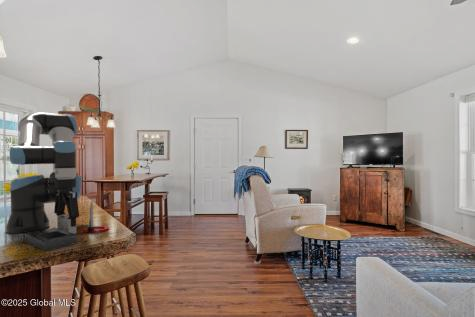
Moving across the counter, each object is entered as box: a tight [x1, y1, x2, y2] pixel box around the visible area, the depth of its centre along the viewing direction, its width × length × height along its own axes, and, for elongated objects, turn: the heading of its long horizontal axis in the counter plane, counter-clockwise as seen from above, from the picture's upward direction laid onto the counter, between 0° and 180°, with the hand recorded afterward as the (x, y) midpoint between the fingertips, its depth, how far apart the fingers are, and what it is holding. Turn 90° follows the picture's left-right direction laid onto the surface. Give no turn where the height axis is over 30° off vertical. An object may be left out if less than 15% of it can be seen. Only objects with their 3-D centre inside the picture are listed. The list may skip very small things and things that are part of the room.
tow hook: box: [82, 201, 110, 234], centre depth 115 cm, size 8×13×9 cm
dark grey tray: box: [24, 227, 78, 252], centre depth 99 cm, size 18×10×3 cm, turn 56°
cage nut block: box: [58, 214, 69, 232], centre depth 111 cm, size 4×4×7 cm
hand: (66, 232), depth 111 cm, fingers open, 9 cm apart
